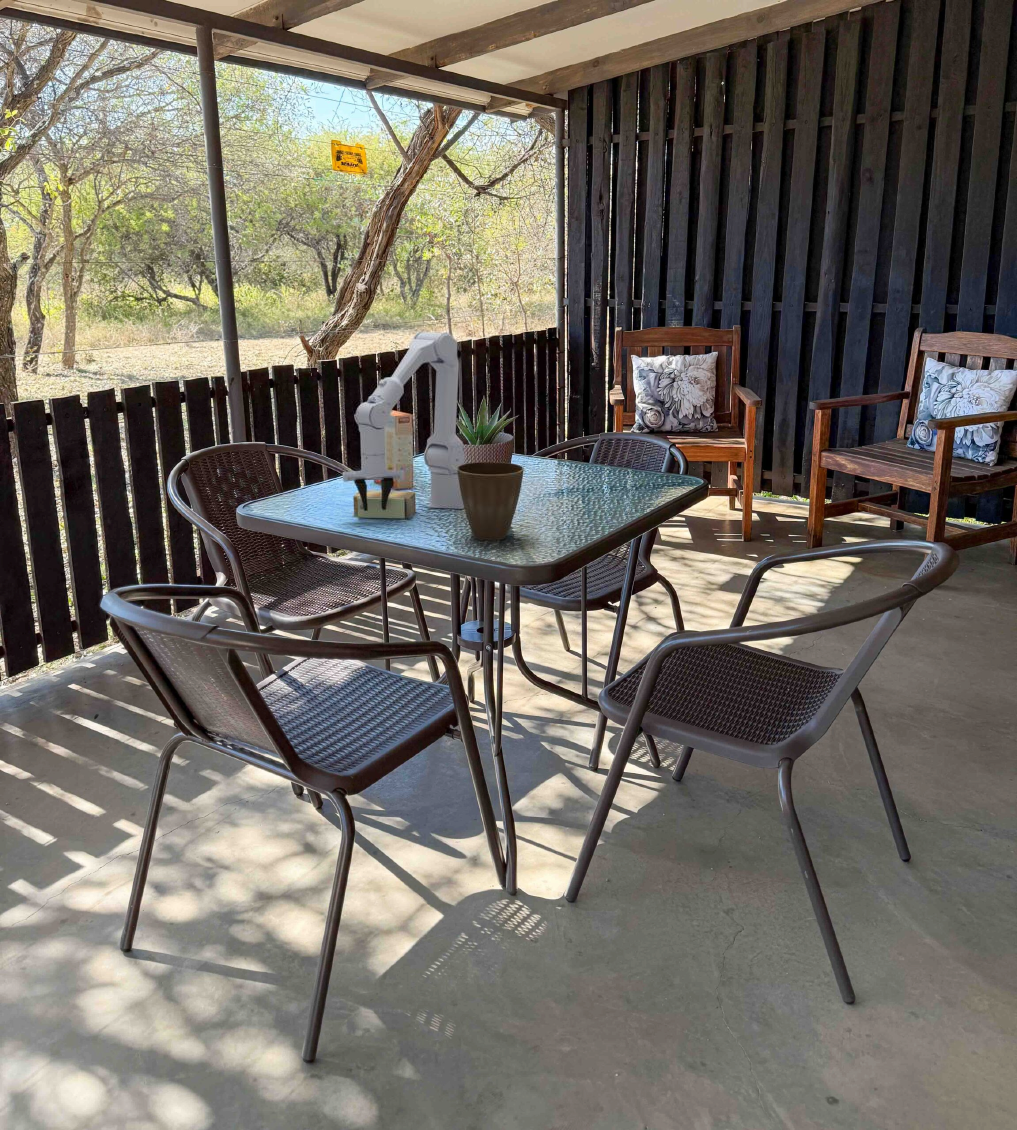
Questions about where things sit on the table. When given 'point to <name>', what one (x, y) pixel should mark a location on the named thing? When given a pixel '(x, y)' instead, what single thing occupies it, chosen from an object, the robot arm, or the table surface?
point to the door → (393, 508)
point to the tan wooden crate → (392, 495)
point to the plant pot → (490, 497)
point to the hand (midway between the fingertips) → (374, 509)
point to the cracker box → (399, 448)
